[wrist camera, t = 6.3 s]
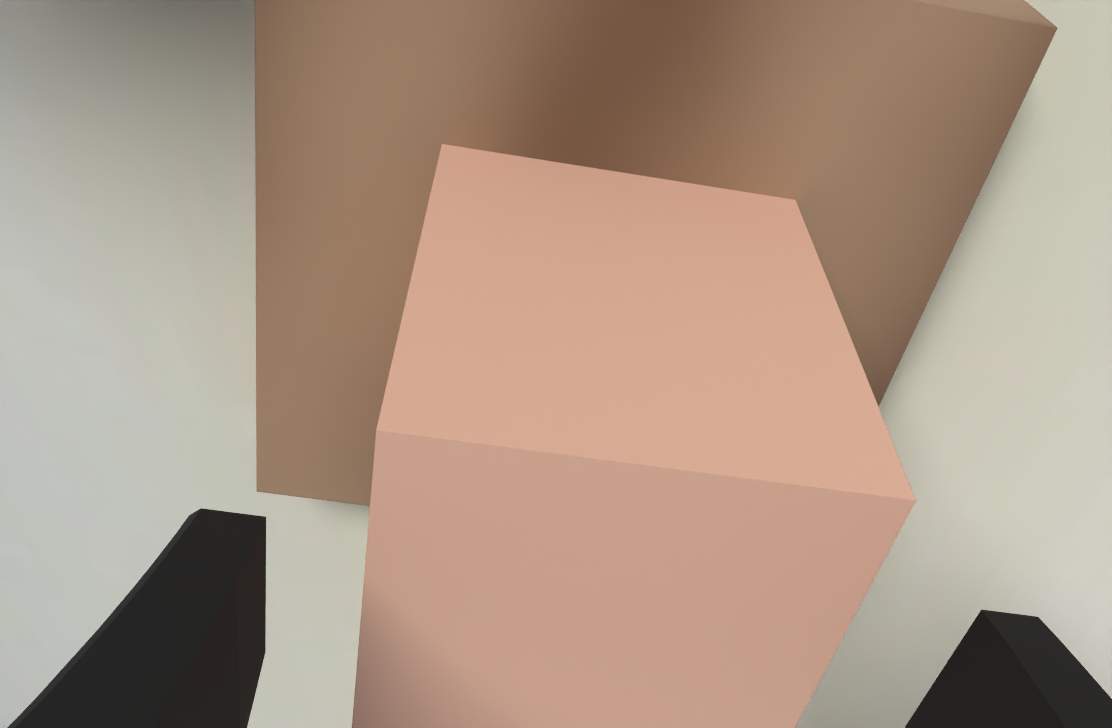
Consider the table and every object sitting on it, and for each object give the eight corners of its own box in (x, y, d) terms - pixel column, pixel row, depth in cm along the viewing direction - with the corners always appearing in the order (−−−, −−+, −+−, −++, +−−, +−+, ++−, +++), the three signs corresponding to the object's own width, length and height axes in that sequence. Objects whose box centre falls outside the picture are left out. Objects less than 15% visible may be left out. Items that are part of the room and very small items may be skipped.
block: (795, 200, 14) (915, 499, 9) (705, 460, 17) (761, 790, 12) (441, 143, 14) (376, 429, 9) (411, 422, 17) (350, 750, 12)
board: (1001, -18, 14) (1057, 27, 13) (785, 486, 20) (805, 561, 19) (291, -154, 13) (254, -123, 12) (282, 418, 19) (256, 491, 18)
